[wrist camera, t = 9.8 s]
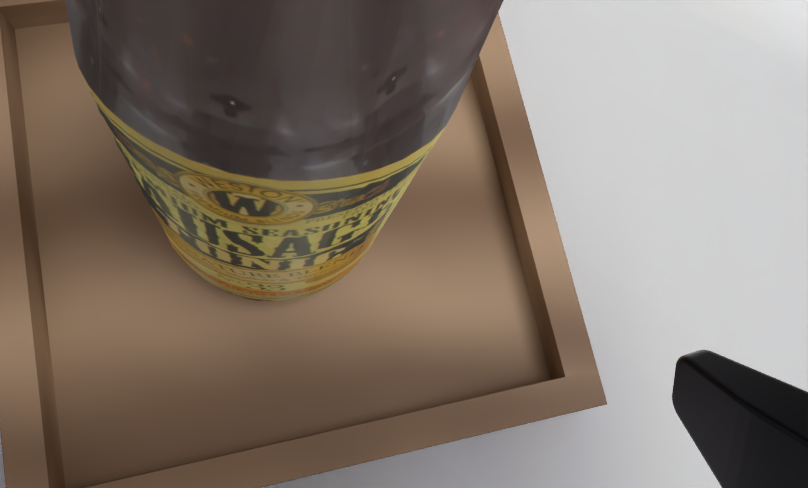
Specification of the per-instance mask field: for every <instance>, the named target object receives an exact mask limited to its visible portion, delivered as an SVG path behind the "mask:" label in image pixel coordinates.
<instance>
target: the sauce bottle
mask: <svg viewBox="0 0 808 488" xmlns="http://www.w3.org/2000/svg"><path fill="white" fill-rule="evenodd" d="M65 2H66V8H67V14H68V19H69V25H70V31H71V37H72V43H73V49H74V54H75V57H76V61H77V64H78V67H79V70H80V72H81V74H82V76H83V78H84V80H85V82H86V84H87V86H88V88H89V90H90V92H91V94H92V96H93V98H94V100H95V101H96V103H97V106H98V109H99V112H100V114H101V115H102V116H103V117H104V119H105V121H106V123H107V125H108V126H109V128H110V129H111V131H112V133H113V135H114V138H115V141H116V144H117V146H118V148H119V149H120V151H121V153H122V154H123V156H124V158H125V159H126V161H127V163H128V165H129V167H130V169H131V170H132V171H133V173H134V176H135V179H136V182H137V184H138V185H139V186H140V188H141V191H142V193H143V195H144V196H145V197H146V199H147V201H148V203H149V205H150V206H151V208H152V210H153V212H154V213H155V215H156V217H157V219H158V220H159V222H160V224H161V226H162V227H163V229H164V231H165V233H166V235H167V237H168V239H169V241H170V243H171V245H172V247H173V249H174V250H175V251H176V252H177V254H178V255H179V256H180V257H181V258H182V259H183V260H184V262H185V263H186V264H187V265H188V266H189V267H190V268H191V269H192V270H193V271H195V272H196V273H197V274H198V275H200V276H201V277H202V278H204V279H205V280H207V281H208V282H210V283H211V284H213V285H215V286H217V287H219V288H221V289H223V290H226V291H227V292H229V293H233V294H237V295H240V296H243V297H245V298H246V299H251V300H255V301H262V300H266V301H273V300H274V301H281V300H289V299H295V298H301V297H305V296H308V295H311V294H314V293H317V292H319V291H321V290H323V289H325V288H327V287H329V286H331V285H332V284H334V283H335V282H337V281H339V280H340V279H342V278H343V277H344V276H345V275H346V274H348V273H349V272H350V271H351V270H352V269H353V268H354V267H355V266H356V265H357V264H358V263H359V262H360V261H361V260H362V259H363V257H364V256H365V254H366V253H367V251H368V250H369V249H370V247H371V245H372V244H373V242H374V240H375V239H376V237H377V236H378V234H379V232H380V230H381V229H382V227H383V225H384V224H385V222H386V220H387V219H388V217H389V216H390V214H391V212H392V211H393V209H394V208H395V206H396V205H397V203H398V202H399V200H400V198H401V197H402V195H403V194H404V192H405V190H406V189H407V187H408V185H409V184H410V182H411V180H412V179H413V177H414V175H415V174H416V172H417V170H418V169H419V167H420V166H421V164H422V162H423V161H424V159H425V158H426V156H427V155H428V153H429V152H430V150H431V149H432V147H433V146H434V144H435V143H436V141H437V140H438V138H439V137H440V135H441V133H442V132H443V130H444V128H445V127H446V125H447V123H448V122H449V120H450V118H451V117H452V115H453V113H454V112H455V109H456V107H457V105H458V102H459V100H460V98H461V95H462V93H463V91H464V89H465V86H466V84H467V82H468V79H469V77H470V75H471V72H472V70H473V68H474V66H475V63H476V61H477V59H478V56H479V54H480V52H481V50H482V47H483V45H484V43H485V40H486V38H487V36H488V34H489V31H490V29H491V27H492V25H493V22H494V20H495V18H496V16H497V13H498V11H499V9H500V7H501V4H502V2H503V0H65Z"/></svg>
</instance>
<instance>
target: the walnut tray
mask: <svg viewBox="0 0 808 488" xmlns="http://www.w3.org/2000/svg"><path fill="white" fill-rule="evenodd" d="M606 404H607V402H606V398H605V394H604V391H603V387H602V384H601V380H600V377H599V373H598V369H597V366H596V362H595V359H594V355H593V351H592V348H591V344H590V341H589V337H588V333H587V330H586V326H585V323H584V319H583V315H582V312H581V308H580V305H579V301H578V297H577V294H576V290H575V287H574V283H573V279H572V276H571V272H570V269H569V265H568V262H567V258H566V254H565V251H564V247H563V244H562V240H561V236H560V233H559V229H558V226H557V222H556V218H555V215H554V211H553V208H552V204H551V200H550V197H549V193H548V190H547V186H546V182H545V179H544V175H543V172H542V168H541V165H540V161H539V157H538V154H537V150H536V147H535V143H534V139H533V136H532V132H531V129H530V125H529V121H528V118H527V114H526V111H525V107H524V103H523V100H522V96H521V93H520V89H519V85H518V82H517V78H516V75H515V71H514V68H513V64H512V60H511V57H510V53H509V50H508V46H507V42H506V39H505V35H504V32H503V28H502V24H501V21H500V17H499V14H498V13H497V16H496V18H495V20H494V22H493V25H492V27H491V29H490V31H489V34H488V36H487V38H486V40H485V43H484V45H483V47H482V50H481V52H480V54H479V56H478V59H477V61H476V63H475V66H474V68H473V70H472V72H471V75H470V77H469V79H468V82H467V84H466V86H465V89H464V91H463V93H462V95H461V98H460V100H459V102H458V105H457V107H456V109H455V112H454V113H453V115H452V117H451V118H450V120H449V122H448V123H447V125H446V127H445V128H444V130H443V132H442V133H441V135H440V137H439V138H438V140H437V141H436V143H435V144H434V146H433V147H432V149H431V150H430V152H429V153H428V155H427V156H426V158H425V159H424V161H423V162H422V164H421V166H420V167H419V169H418V170H417V172H416V174H415V175H414V177H413V179H412V180H411V182H410V184H409V185H408V187H407V189H406V190H405V192H404V194H403V195H402V197H401V198H400V200H399V202H398V203H397V205H396V206H395V208H394V209H393V211H392V212H391V214H390V216H389V217H388V219H387V220H386V222H385V224H384V225H383V227H382V229H381V230H380V232H379V234H378V236H377V237H376V239H375V240H374V242H373V244H372V245H371V247H370V249H369V250H368V251H367V253H366V254H365V256H364V257H363V259H362V260H361V261H360V262H359V263H358V264H357V265H356V266H355V267H354V268H353V269H352V270H351V271H350V272H349V273H348V274H346V275H345V276H344V277H343V278H342V279H340V280H339V281H337V282H335V283H334V284H332V285H331V286H329V287H327V288H325V289H323V290H321V291H319V292H317V293H314V294H311V295H308V296H305V297H301V298H295V299H289V300H281V301H274V300H273V301H266V300H262V301H255V300H251V299H246V298H245V297H243V296H240V295H237V294H233V293H229V292H227V291H226V290H223V289H221V288H219V287H217V286H215V285H213V284H211V283H210V282H208V281H207V280H205V279H204V278H202V277H201V276H200V275H198V274H197V273H196V272H195V271H193V270H192V269H191V268H190V267H189V266H188V265H187V264H186V263H185V262H184V260H183V259H182V258H181V257H180V256H179V255H178V254H177V252H176V251H175V250H174V249H173V247H172V245H171V243H170V241H169V239H168V237H167V235H166V233H165V231H164V229H163V227H162V226H161V224H160V222H159V220H158V219H157V217H156V215H155V213H154V212H153V210H152V208H151V206H150V205H149V203H148V201H147V199H146V197H145V196H144V195H143V193H142V191H141V188H140V186H139V185H138V184H137V182H136V179H135V176H134V173H133V171H132V170H131V169H130V167H129V165H128V163H127V161H126V159H125V158H124V156H123V154H122V153H121V151H120V149H119V148H118V146H117V144H116V141H115V138H114V135H113V133H112V131H111V129H110V128H109V126H108V125H107V123H106V121H105V119H104V117H103V116H102V115H101V114H100V112H99V109H98V106H97V103H96V101H95V100H94V98H93V96H92V94H91V92H90V90H89V88H88V86H87V84H86V82H85V80H84V78H83V76H82V74H81V72H80V70H79V67H78V64H77V61H76V57H75V54H74V49H73V43H72V37H71V31H70V25H69V19H68V14H67V8H66V2H65V0H0V429H1V440H2V451H3V461H4V472H5V483H6V488H261V487H265V486H269V485H273V484H277V483H282V482H286V481H290V480H294V479H298V478H302V477H307V476H311V475H315V474H319V473H323V472H327V471H331V470H336V469H340V468H344V467H348V466H352V465H356V464H361V463H365V462H369V461H373V460H377V459H381V458H385V457H390V456H394V455H398V454H402V453H406V452H410V451H415V450H419V449H423V448H427V447H431V446H435V445H440V444H444V443H448V442H452V441H456V440H460V439H464V438H469V437H473V436H477V435H481V434H485V433H489V432H494V431H498V430H502V429H506V428H510V427H514V426H518V425H523V424H527V423H531V422H535V421H539V420H543V419H548V418H552V417H556V416H560V415H564V414H568V413H573V412H577V411H581V410H585V409H589V408H593V407H597V406H602V405H606Z"/></svg>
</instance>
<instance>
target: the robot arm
mask: <svg viewBox="0 0 808 488" xmlns="http://www.w3.org/2000/svg"><path fill="white" fill-rule="evenodd" d="M672 400H673V405H674V408H675V411H676V413H677V415H678V416H679V418H680V420H681V421H682V423H683V424H684V426H685V428H686V429H687V431H688V433H689V434H690V436H691V438H692V439H693V441H694V442H695V444H696V446H697V447H698V449H699V451H700V452H701V454H702V456H703V457H704V459H705V460H706V462H707V464H708V465H709V467H710V469H711V470H712V472H713V474H714V475H715V477H716V479H717V480H718V482H719V483H720V485H721V487H722V488H808V392H807V391H804V390H802V389H799V388H797V387H795V386H792V385H790V384H788V383H785V382H783V381H780V380H778V379H776V378H773V377H771V376H769V375H766V374H764V373H761V372H759V371H757V370H754V369H752V368H750V367H747V366H745V365H742V364H740V363H738V362H735V361H733V360H731V359H728V358H726V357H723V356H721V355H719V354H716V353H714V352H711V351H708V350H699V351H696V352H693V353H690V354H687V355H683V356H681V357H680V358H679V359H678V361H677V363H676V370H675V378H674V385H673V393H672Z"/></svg>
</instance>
